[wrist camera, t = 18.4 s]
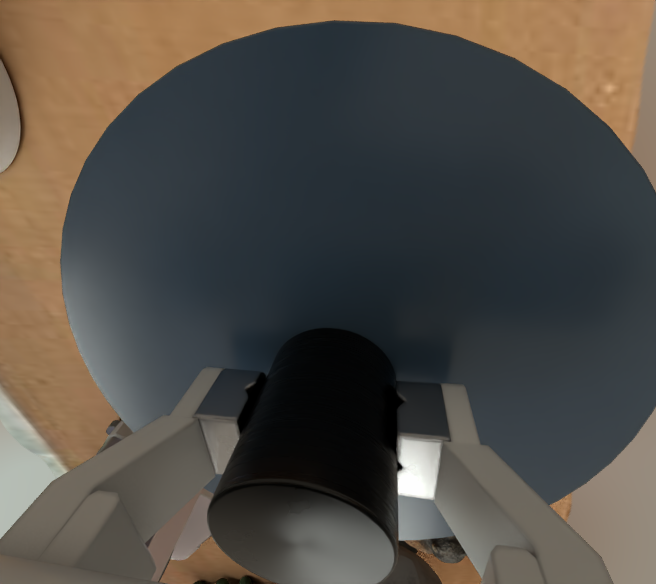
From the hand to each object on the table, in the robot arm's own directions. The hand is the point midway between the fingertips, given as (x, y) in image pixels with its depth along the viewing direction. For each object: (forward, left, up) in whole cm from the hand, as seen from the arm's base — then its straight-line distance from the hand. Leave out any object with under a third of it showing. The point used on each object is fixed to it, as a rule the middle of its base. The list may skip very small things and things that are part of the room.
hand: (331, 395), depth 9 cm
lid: (0, 0, -1) cm, 1 cm away
